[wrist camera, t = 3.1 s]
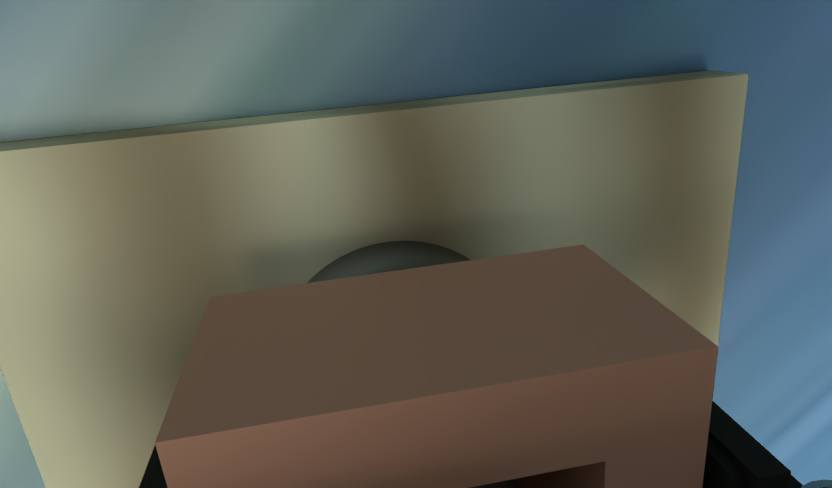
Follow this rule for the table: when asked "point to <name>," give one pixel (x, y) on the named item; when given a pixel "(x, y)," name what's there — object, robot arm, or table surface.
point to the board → (332, 229)
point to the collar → (444, 382)
